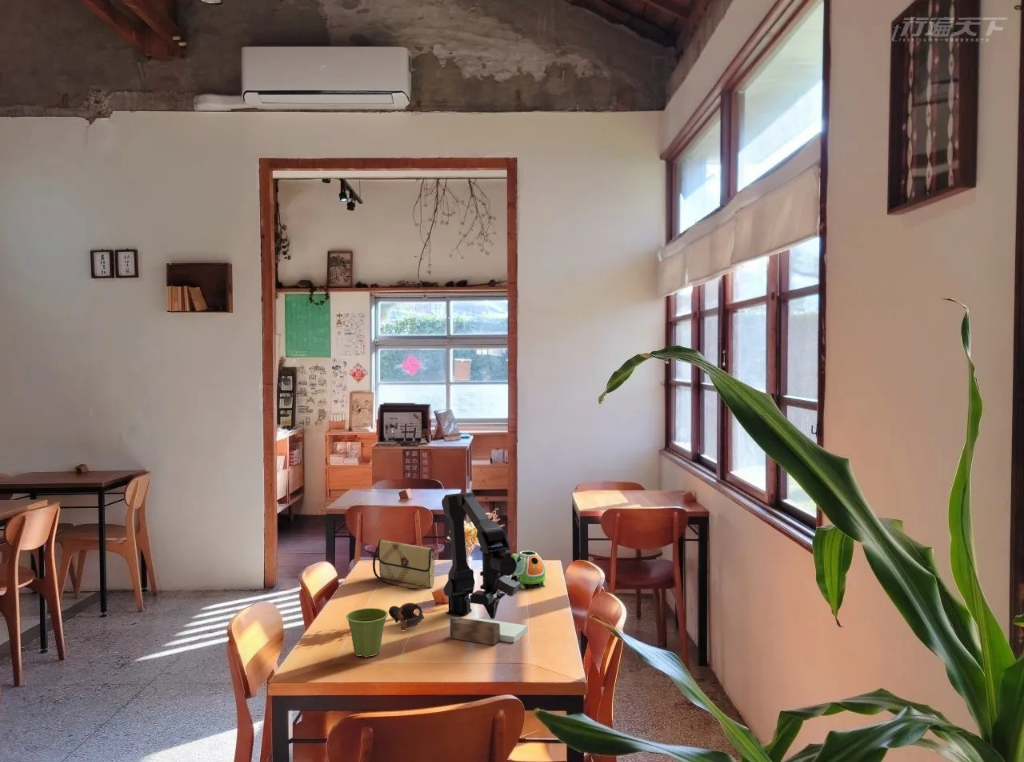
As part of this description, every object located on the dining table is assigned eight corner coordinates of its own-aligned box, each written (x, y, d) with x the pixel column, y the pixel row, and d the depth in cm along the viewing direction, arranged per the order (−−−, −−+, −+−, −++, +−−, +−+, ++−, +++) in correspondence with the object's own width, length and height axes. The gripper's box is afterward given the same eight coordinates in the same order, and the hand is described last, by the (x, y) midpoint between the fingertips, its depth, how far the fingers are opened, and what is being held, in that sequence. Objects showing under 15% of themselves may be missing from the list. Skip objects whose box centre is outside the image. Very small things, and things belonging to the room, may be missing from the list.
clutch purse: (368, 580, 283) (367, 542, 282) (381, 576, 288) (380, 538, 288) (427, 593, 266) (426, 552, 266) (439, 588, 272) (438, 548, 271)
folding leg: (447, 637, 222) (447, 620, 221) (453, 633, 225) (453, 615, 225) (494, 645, 215) (493, 627, 215) (500, 640, 219) (499, 622, 218)
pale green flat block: (455, 633, 226) (455, 627, 225) (470, 622, 235) (470, 617, 235) (514, 642, 217) (514, 636, 217) (527, 631, 226) (527, 625, 226)
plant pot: (368, 664, 203) (368, 624, 203) (338, 656, 209) (337, 617, 209) (397, 650, 213) (396, 611, 213) (366, 642, 219) (366, 605, 219)
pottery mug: (427, 622, 238) (429, 604, 233) (416, 644, 230) (417, 626, 225) (392, 610, 240) (394, 593, 235) (380, 632, 232) (381, 614, 228)
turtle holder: (527, 574, 287) (527, 544, 287) (552, 586, 271) (551, 554, 271) (499, 579, 281) (499, 548, 281) (523, 591, 265) (522, 559, 265)
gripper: (502, 579, 212) (503, 632, 213) (528, 562, 229) (528, 612, 230) (468, 575, 217) (469, 627, 217) (496, 559, 234) (496, 607, 234)
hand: (492, 618), depth 225 cm, fingers closed
